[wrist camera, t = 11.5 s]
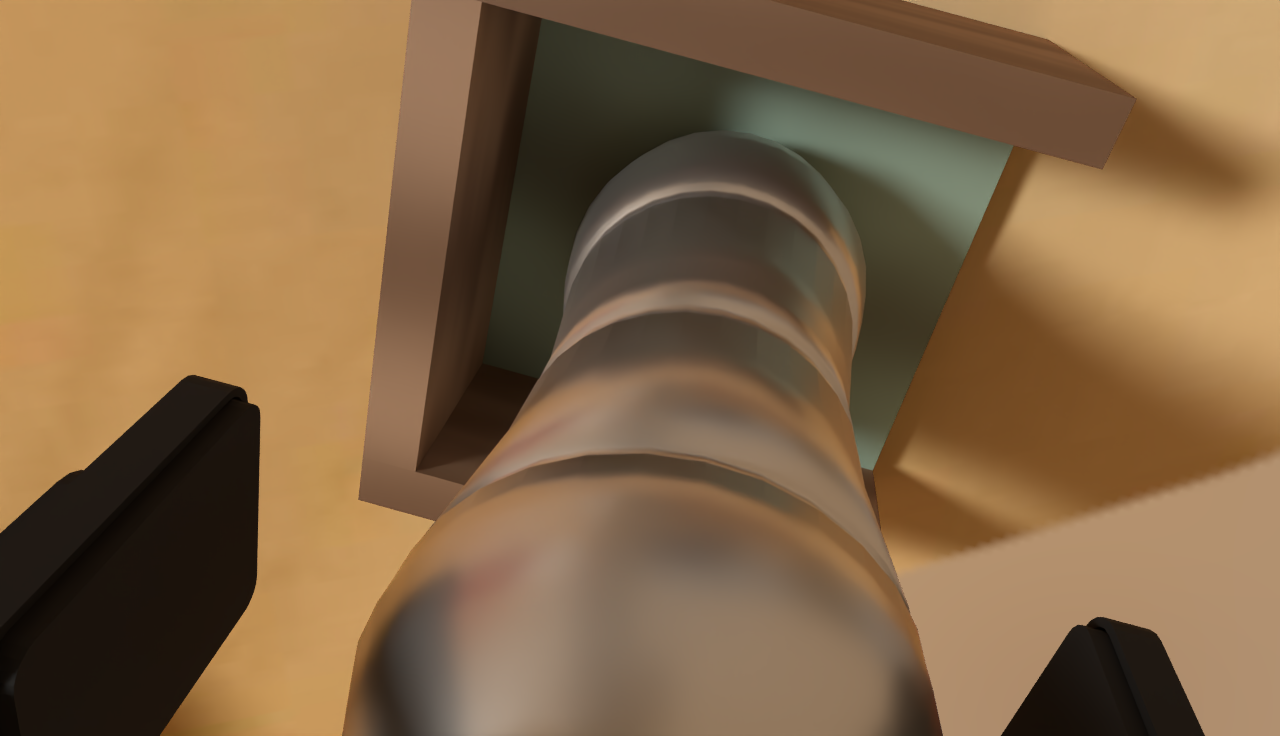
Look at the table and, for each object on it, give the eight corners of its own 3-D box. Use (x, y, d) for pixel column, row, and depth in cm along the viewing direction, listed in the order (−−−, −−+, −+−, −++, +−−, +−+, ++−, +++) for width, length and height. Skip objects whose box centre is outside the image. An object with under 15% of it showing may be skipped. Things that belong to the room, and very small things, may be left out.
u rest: (514, -104, 21) (421, -94, 15) (1047, 39, 21) (1136, 98, 15) (443, 375, 27) (358, 499, 21) (855, 488, 27) (872, 642, 21)
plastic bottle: (895, 140, 21) (1402, 1471, 4) (813, 395, 24) (881, 1730, 7) (614, 79, 21) (-150, 1066, 4) (571, 339, 25) (50, 1505, 7)
